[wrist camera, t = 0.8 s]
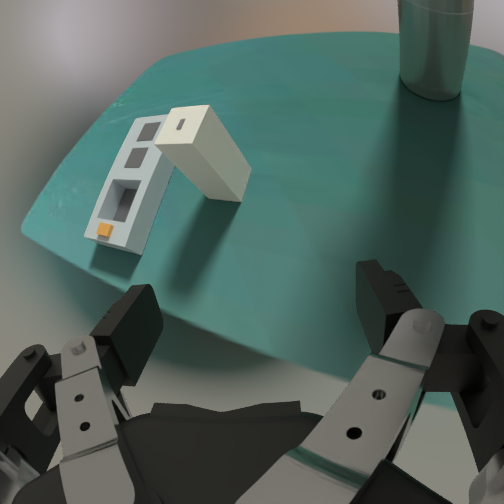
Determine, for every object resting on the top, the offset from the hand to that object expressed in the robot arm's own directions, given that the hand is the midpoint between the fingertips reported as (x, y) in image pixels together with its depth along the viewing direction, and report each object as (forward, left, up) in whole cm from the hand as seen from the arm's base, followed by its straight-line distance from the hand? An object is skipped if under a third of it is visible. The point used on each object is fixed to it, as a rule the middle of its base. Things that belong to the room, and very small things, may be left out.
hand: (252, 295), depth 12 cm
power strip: (-13, -28, -19) cm, 36 cm away
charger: (-14, -14, -19) cm, 28 cm away
